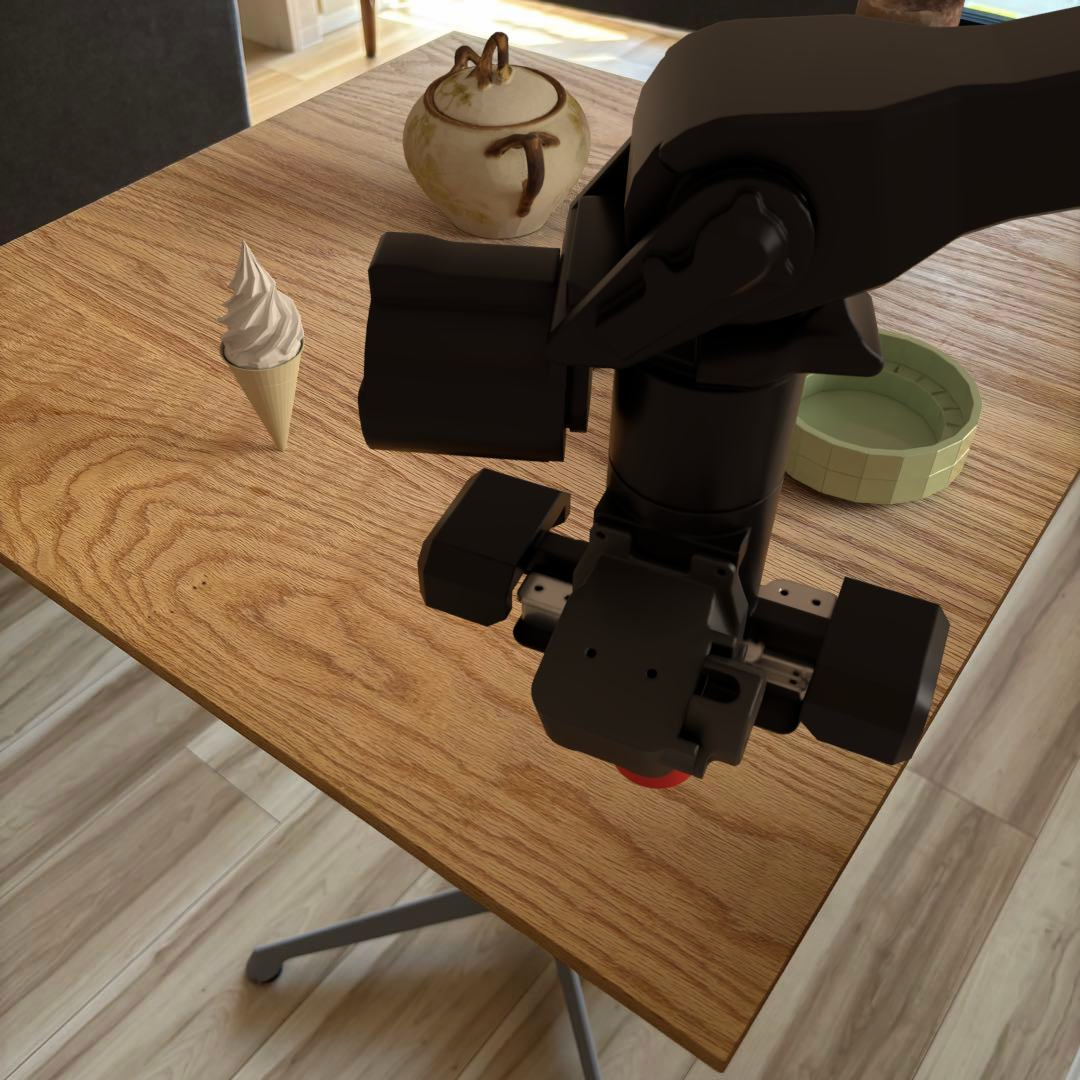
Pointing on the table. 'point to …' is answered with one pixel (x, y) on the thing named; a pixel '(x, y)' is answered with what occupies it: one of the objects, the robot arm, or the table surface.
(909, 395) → the serving bowl
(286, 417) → the ice cream cone
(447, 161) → the sugar bowl
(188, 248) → the table surface
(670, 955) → the table surface
